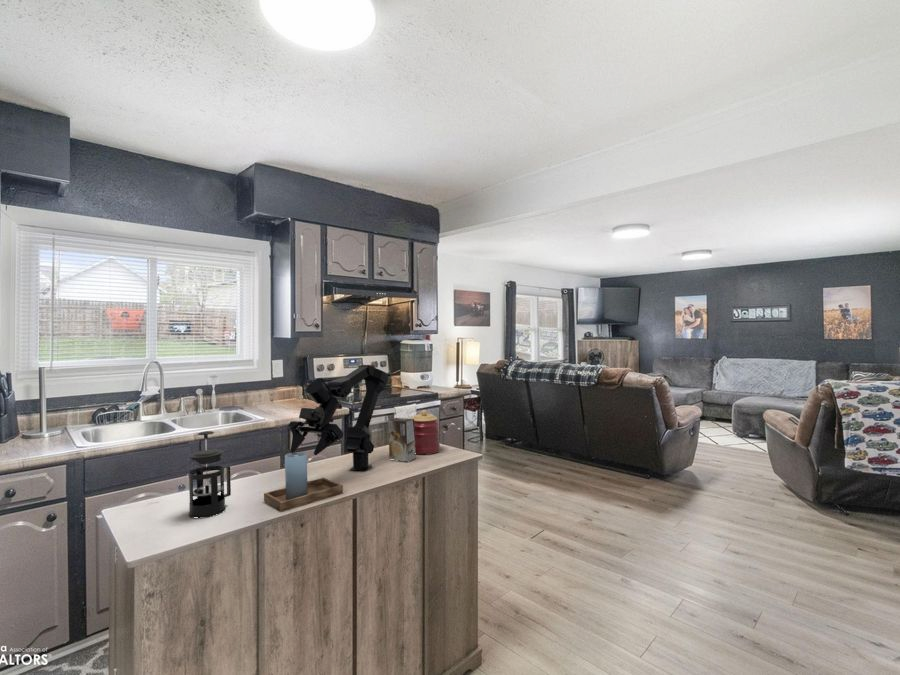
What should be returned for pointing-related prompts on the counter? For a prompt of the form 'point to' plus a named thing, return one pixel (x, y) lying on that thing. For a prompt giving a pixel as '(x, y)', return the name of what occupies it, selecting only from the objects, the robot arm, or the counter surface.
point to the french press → (207, 495)
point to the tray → (315, 493)
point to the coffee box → (401, 439)
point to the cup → (296, 475)
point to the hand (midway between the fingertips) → (303, 453)
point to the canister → (426, 433)
